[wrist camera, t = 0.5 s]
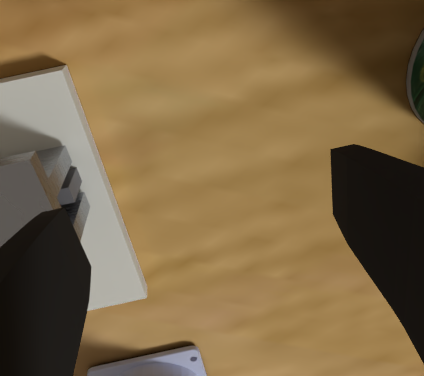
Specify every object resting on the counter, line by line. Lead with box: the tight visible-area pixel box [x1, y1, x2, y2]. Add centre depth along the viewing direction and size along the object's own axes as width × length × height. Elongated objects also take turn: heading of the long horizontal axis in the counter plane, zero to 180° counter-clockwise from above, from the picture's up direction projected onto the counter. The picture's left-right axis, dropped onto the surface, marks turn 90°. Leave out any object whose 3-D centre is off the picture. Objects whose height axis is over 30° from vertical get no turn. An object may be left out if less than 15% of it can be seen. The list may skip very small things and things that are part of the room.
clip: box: [0, 145, 90, 247], centre depth 18 cm, size 6×4×5 cm, turn 10°
